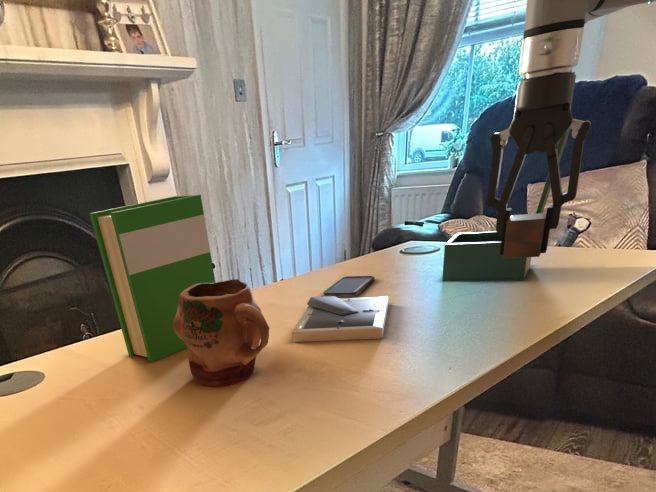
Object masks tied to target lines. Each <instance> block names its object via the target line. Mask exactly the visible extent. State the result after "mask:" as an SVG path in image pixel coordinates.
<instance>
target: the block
mask: <svg viewBox="0 0 656 492" xmlns="http://www.w3.org/2000/svg"><path fill="white" fill-rule="evenodd" d="M546 213H547V212H543V213H538V214H536V213H527V214H511V217H510V219H509V220H508V221H507V228H506V237H505V246H504V254H503V258H521V257H531V258H539V257H541V254H542V253H541V247H542V240H543V234H544V227H545V220H546Z"/></svg>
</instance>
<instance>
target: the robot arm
mask: <svg viewBox="0 0 656 492" xmlns="http://www.w3.org/2000/svg"><path fill="white" fill-rule="evenodd" d="M655 2H656V0H526V7H525V8H526V9H525V19H524V29H523V38H522V45H521V53H520V61H519V69H518V70H519V71H518V74H519V76H522V78H521V80H520V81H519V82H518V84H517V86H516V87H517V88H516V97H515V105H514V106H515V107H514V114H513V119H512V121H511V123H510V125H509V126H508V128H506V129H504V130H501V131H500V132H495V133H493V134H491V136H490V145H491V149H492V157H491V163H490V173H489V180H488V188H487V195H486V206H487V207H488V208H493V209H495V210H496V212H497V213H496V222H495V223H496V224H495V232H502V240H501V249H500V255H503V254H504V246H505V237H506V228H507V221H508V220H509V219H510V217H511V216H512V210H513V208H512V207H508V205H509V203H510V199H511V197H512V194H513V191H514V189H515V186H516V183H517V181H518V178H519V175H520V174H521V170H522V167H523V165H524V162H525V161H526V157H527V155H530V154H534V153H536V152H537V153H545V154H546V158H547V160H546V161H547V167H548V173H549V175H550V183H551V190H550V193H551V198H552V204H548V206H547V207H546V212H545V213H546V220H545V227H544V234H543V240H542V247H541V254H546V252H547V250H548V245H549V239H550V232H551V230H557V228H558V226H559V223H560V218H561V211H562V206H563V205H565V204H566V203H568V202H570V201H571V202H572V201H574V200H575V199H576V196H577V194H578V193H577V191H578V188H579V186H578V185H579V181H580V180H579V179H580V172H581V165H582V156H583V150H584V143H585V139H586V137H587V135H588V132H589V131H590V128H591V125H592V122H591V120H580V119H576V118H574V115H573V113H572V104H573V96H574V90H575V84H576V78H577V74H576V72H575V71H573V68H574V67H576V66H578V64H579V61H580V54H581V48H582V42H583V35H584V31H585V30H584V29H585V24H587V23H588V22H590V21H592V20H596V19H598V18H601V17H603V16H607V15H610V14H613V13H615V12H618V11H622V10H623V9H626V8H629V7H633V6H637V5H643V4H647V5H651V4H652V3H655ZM569 127H570V128H571V129H570V130H571V138H573V139H574V142H573V147H572V154H571V162H570V169H569V178H568V185H567V191H566V192H564V193H563V189H562V188H563V187H562V180H561V179H562V178H561V170H560V162H559V161H558V151H557V145H558V142H559V140H560V139H561V137H562V136H563V135H564V133H565V132H566V131H567V129H568V128H569ZM509 137H511V139H512V140H513V142H514V143H515V145H516V147H517V148H518V149H517V151H516V153H515V157H514V159H513V160H514V161H513V163H512V166H511V169H510V171H509V175H508V177H507V180H506V183H505V184H504V188H503V191H502V193H501V196H500V198H498V194H499V193H498V192H499V185H500V179H501V171H502V163H503V156H504V147H506V145H507V144H508V139H509Z"/></svg>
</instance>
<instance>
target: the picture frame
mask: <svg viewBox="0 0 656 492" xmlns="http://www.w3.org/2000/svg"><path fill="white" fill-rule="evenodd" d="M306 305H307V307H306V309H305V311H304V312H303V314H302V315H301V317H300V319H299V321H298V323H297V324H296V325H295V327H294V328H293V330H292V332H291V333H292V342H293V343H299V342H300V343H303V342H324V341H349V340H373V339H383V336H384V331H385V325H386V320H387V314H388V309H389V295H381V296H380V295H379V296H363V297H361V296H360V297H344V298H339V297H335V296H326V297H324V296H310V298H309V299H308V301H307V303H306Z"/></svg>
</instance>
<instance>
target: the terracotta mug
mask: <svg viewBox="0 0 656 492" xmlns="http://www.w3.org/2000/svg"><path fill="white" fill-rule="evenodd" d="M173 327H174V330H175V332H176V334H177V335H178V336H179V338H181V339H182V340H183V341H184V343H185V344H186V347H187V348H186V350H187V357H188V366H189V371H190V373H191V375H192V379H194V381H195V382H196V383H197V384H199V385H201V386H205V387H208V388H226V387H229V386H232V385H235V384H239V383H241V382H244V381H245V380H248V379H249V378H250V377H251V376H253V374H254V372H255V369H256V360H257V356H258V355H259V354H260V353H261V351H262V350H263V349H264V348H265V347H267V345H268V343H269V340H270V339H269V338H270V326H269V324H268V322H267V320H266V318H265V316H264V314H263V311H262V309H261V307H260V306H259V304H258V303H257V301H255V299H254V295H253V292H252V290H251V287H250V286H249V285H248V284H247V283H246V282H245V281H241V280H240V279H238V278H237V279H228V280H220V281H215V283H202V284H195V285H192V286H191V287H189V288H187V289H185V290H184V291H182V293H181V294H180V296H179V303H178V309H177V313H176V316H175V318H174V322H173Z"/></svg>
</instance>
